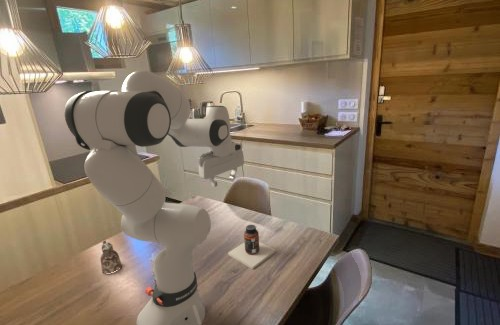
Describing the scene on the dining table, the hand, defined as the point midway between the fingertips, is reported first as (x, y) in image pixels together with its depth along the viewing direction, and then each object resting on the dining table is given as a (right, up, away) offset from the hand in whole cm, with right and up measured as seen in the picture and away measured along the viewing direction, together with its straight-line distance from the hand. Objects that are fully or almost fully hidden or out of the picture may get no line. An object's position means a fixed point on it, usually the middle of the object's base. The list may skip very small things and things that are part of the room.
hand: (223, 182), depth 109 cm
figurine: (-45, -35, +3) cm, 57 cm away
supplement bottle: (+11, -29, +6) cm, 32 cm away
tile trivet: (+11, -30, +6) cm, 33 cm away
